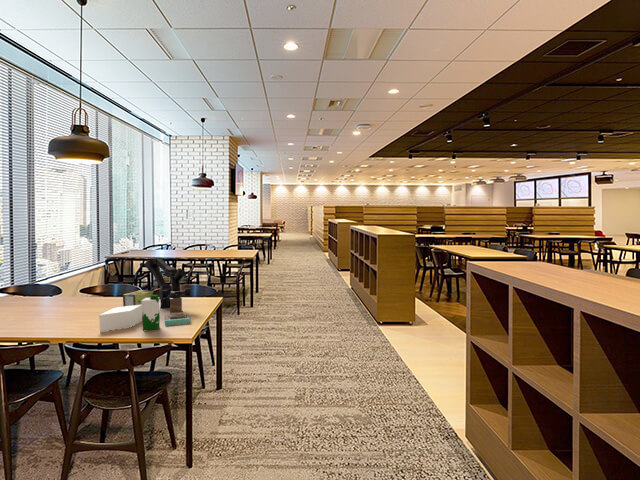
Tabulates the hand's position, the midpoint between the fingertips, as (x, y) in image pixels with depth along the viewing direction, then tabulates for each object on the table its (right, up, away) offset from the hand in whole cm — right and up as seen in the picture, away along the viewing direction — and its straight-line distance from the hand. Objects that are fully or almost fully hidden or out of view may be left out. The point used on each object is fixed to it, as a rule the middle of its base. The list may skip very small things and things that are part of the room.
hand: (177, 303), depth 262 cm
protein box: (-24, -8, -3) cm, 25 cm away
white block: (-24, -9, -25) cm, 36 cm away
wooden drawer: (+2, -8, -6) cm, 10 cm away
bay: (+6, -8, -15) cm, 19 cm away
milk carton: (-4, -10, -31) cm, 33 cm away
